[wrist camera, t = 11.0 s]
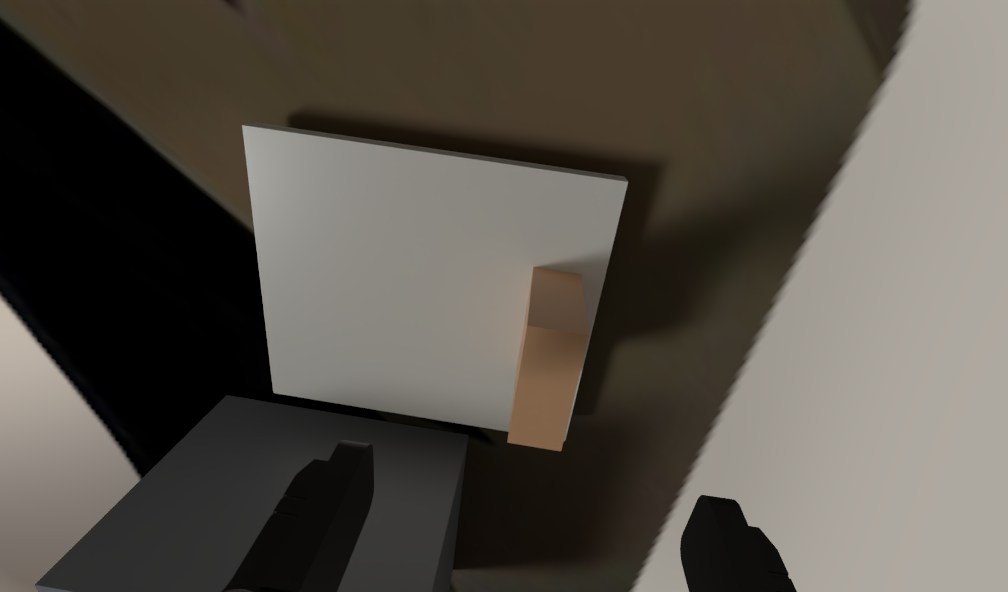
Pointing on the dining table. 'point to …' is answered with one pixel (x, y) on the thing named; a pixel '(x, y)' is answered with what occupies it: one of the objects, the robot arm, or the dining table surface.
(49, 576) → the tub
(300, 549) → the robot arm
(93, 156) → the dining table surface
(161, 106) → the dining table surface
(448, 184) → the lid
